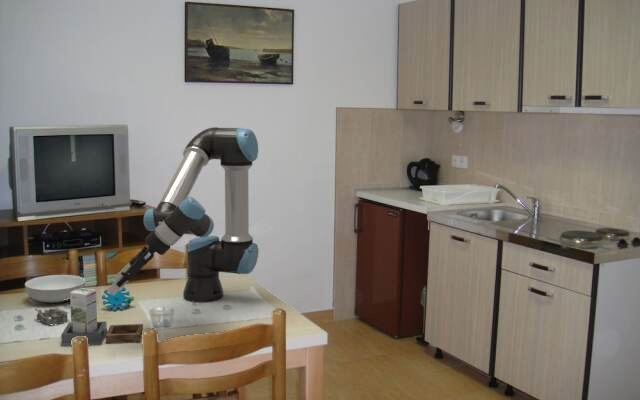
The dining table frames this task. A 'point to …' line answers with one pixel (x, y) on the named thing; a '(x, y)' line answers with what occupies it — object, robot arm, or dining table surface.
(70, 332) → the dark grey square tray
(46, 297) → the serving bowl
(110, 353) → the dining table surface
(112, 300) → the gear
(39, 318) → the grey lumpy mound
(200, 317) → the dining table surface
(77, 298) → the syrup box
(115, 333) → the walnut collar
